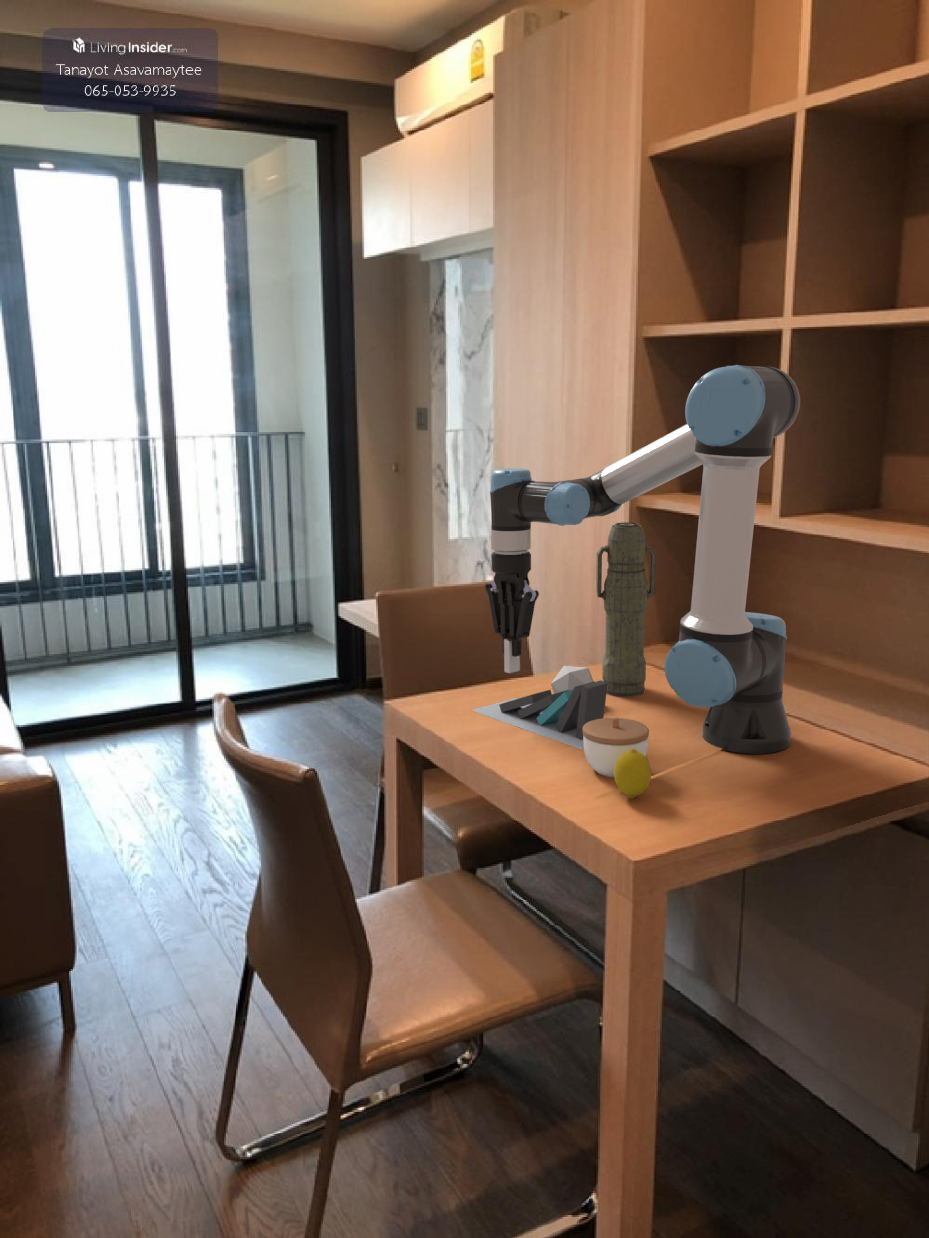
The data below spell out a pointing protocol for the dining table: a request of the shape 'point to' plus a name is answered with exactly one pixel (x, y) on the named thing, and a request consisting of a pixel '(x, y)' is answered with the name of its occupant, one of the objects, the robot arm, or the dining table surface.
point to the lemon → (632, 773)
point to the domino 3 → (570, 711)
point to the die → (571, 678)
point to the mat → (531, 724)
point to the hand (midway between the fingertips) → (512, 671)
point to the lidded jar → (612, 742)
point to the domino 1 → (524, 701)
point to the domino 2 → (539, 705)
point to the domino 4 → (591, 704)
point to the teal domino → (554, 709)
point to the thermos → (625, 608)
